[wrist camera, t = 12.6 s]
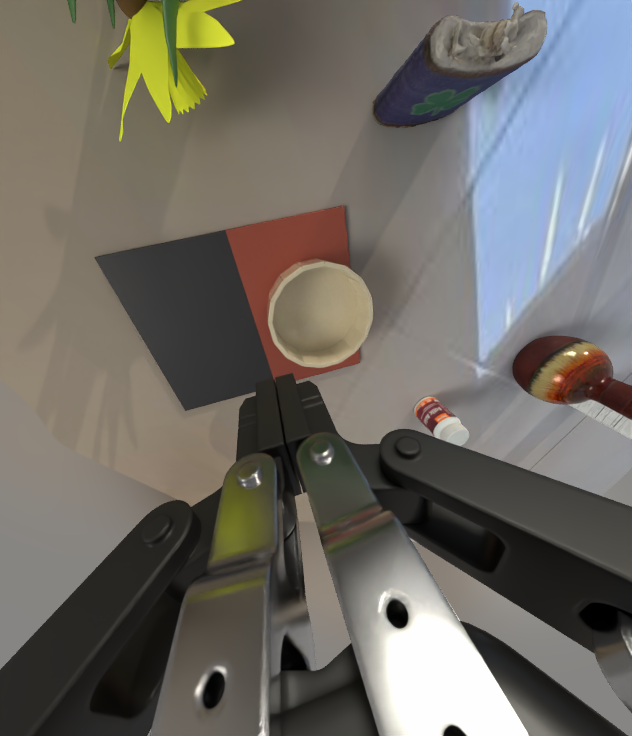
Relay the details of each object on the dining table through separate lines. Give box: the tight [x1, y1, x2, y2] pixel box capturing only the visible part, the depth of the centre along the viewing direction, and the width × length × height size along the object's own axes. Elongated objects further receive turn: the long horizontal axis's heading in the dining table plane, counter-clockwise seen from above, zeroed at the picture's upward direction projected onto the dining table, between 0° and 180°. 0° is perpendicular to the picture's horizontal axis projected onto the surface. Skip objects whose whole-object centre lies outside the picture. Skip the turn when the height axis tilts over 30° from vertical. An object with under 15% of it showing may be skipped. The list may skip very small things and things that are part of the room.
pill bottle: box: [414, 397, 469, 446], centre depth 41 cm, size 5×5×8 cm
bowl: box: [267, 259, 373, 368], centre depth 29 cm, size 12×12×4 cm
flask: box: [373, 2, 547, 128], centre depth 19 cm, size 9×3×11 cm, turn 100°
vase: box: [513, 336, 632, 420], centre depth 38 cm, size 11×11×15 cm
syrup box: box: [569, 400, 632, 440], centre depth 47 cm, size 6×6×14 cm
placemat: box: [95, 206, 360, 411], centre depth 30 cm, size 26×20×1 cm
